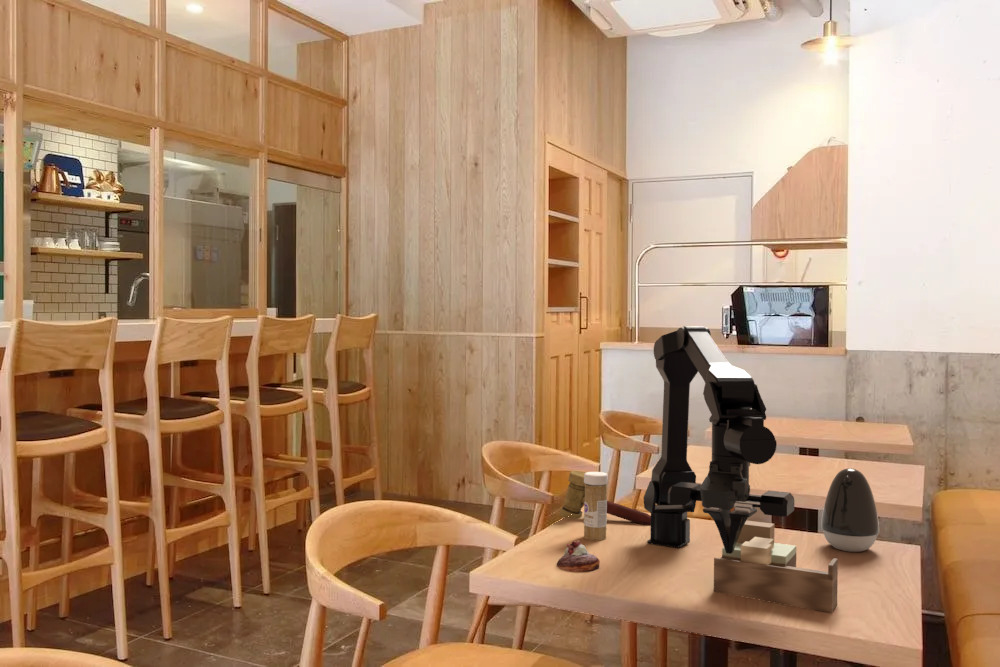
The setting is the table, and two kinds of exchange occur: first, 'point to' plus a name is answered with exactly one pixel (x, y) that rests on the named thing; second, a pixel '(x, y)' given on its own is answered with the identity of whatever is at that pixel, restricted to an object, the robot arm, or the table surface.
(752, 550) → the tan wooden block
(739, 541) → the lid
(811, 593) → the toolbox
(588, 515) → the sprinkles bottle
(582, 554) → the pastry
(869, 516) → the grey white egg shape
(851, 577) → the table surface
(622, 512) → the gavel
